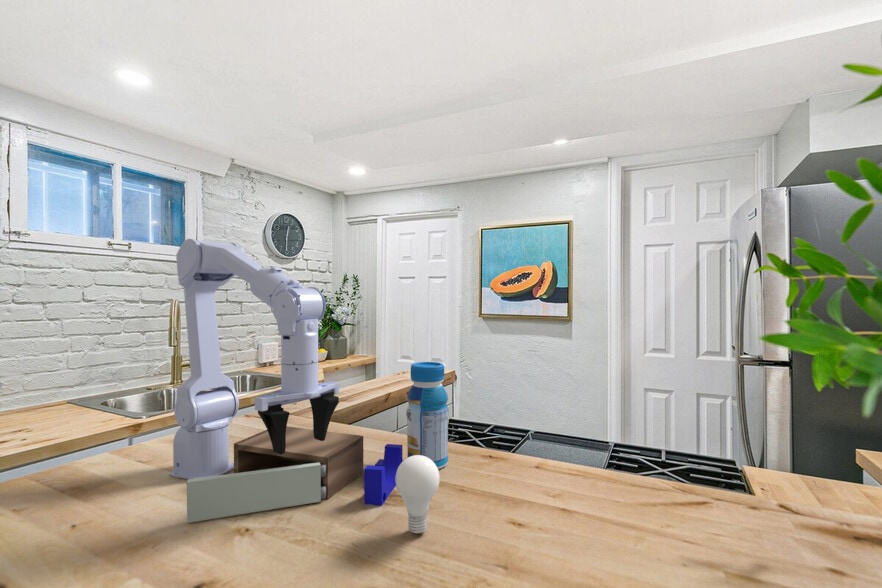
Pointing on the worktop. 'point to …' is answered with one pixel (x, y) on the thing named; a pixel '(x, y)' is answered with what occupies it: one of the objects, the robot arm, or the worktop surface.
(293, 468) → the cabinet door
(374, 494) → the cable clip
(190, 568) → the worktop surface
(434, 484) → the lightbulb
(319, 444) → the cabinet
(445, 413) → the beverage bottle
